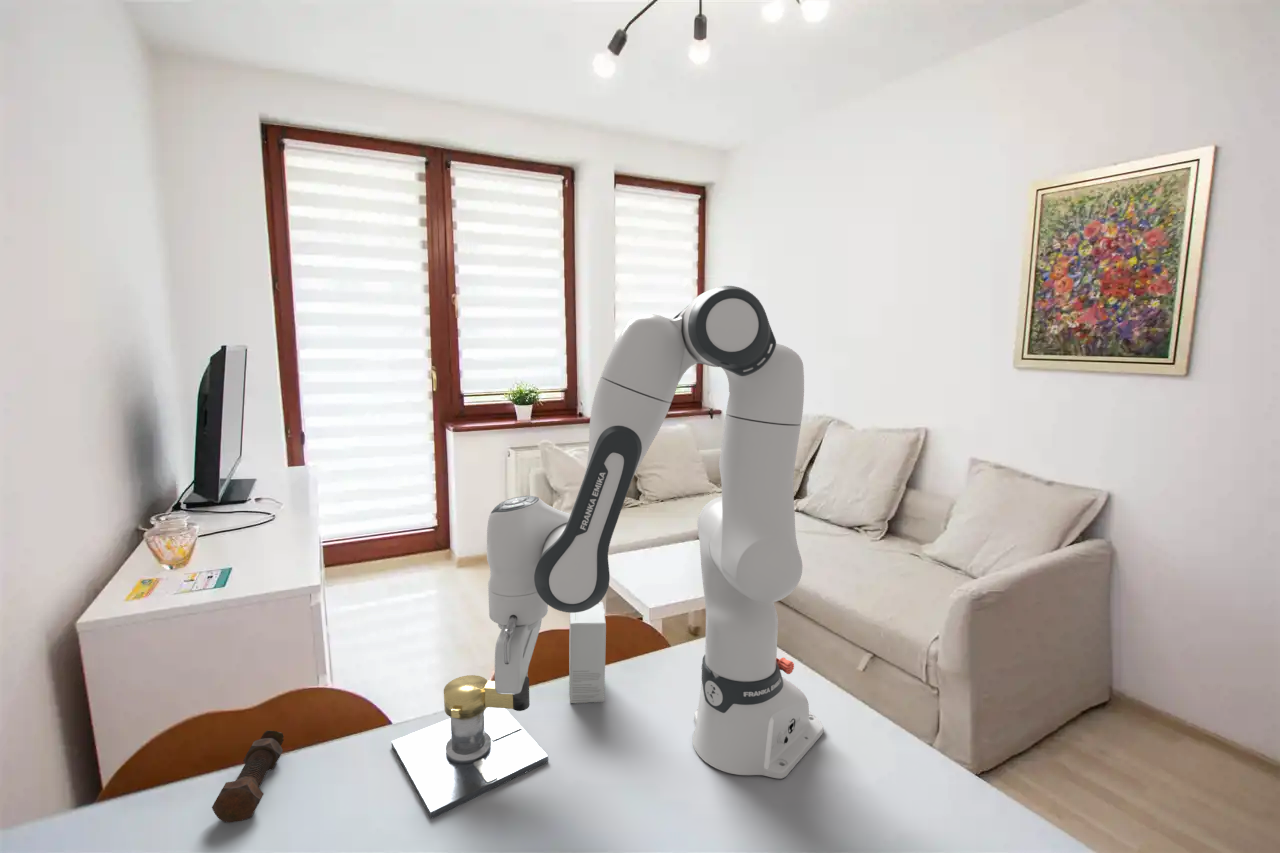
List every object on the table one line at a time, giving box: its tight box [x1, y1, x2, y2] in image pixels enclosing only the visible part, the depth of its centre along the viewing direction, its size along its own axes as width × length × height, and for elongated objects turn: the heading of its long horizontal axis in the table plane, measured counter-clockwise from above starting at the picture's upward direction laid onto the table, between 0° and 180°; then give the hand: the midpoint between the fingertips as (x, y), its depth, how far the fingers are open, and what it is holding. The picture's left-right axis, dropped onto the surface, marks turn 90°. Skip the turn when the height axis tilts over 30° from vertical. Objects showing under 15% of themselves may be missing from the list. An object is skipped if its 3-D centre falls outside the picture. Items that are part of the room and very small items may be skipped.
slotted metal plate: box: [391, 707, 549, 819], centre depth 93 cm, size 18×18×8 cm
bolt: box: [211, 730, 285, 824], centre depth 87 cm, size 6×5×15 cm
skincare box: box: [568, 601, 607, 704], centre depth 109 cm, size 8×7×16 cm
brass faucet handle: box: [443, 674, 531, 719], centre depth 91 cm, size 13×9×5 cm
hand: (521, 686), depth 93 cm, fingers closed
